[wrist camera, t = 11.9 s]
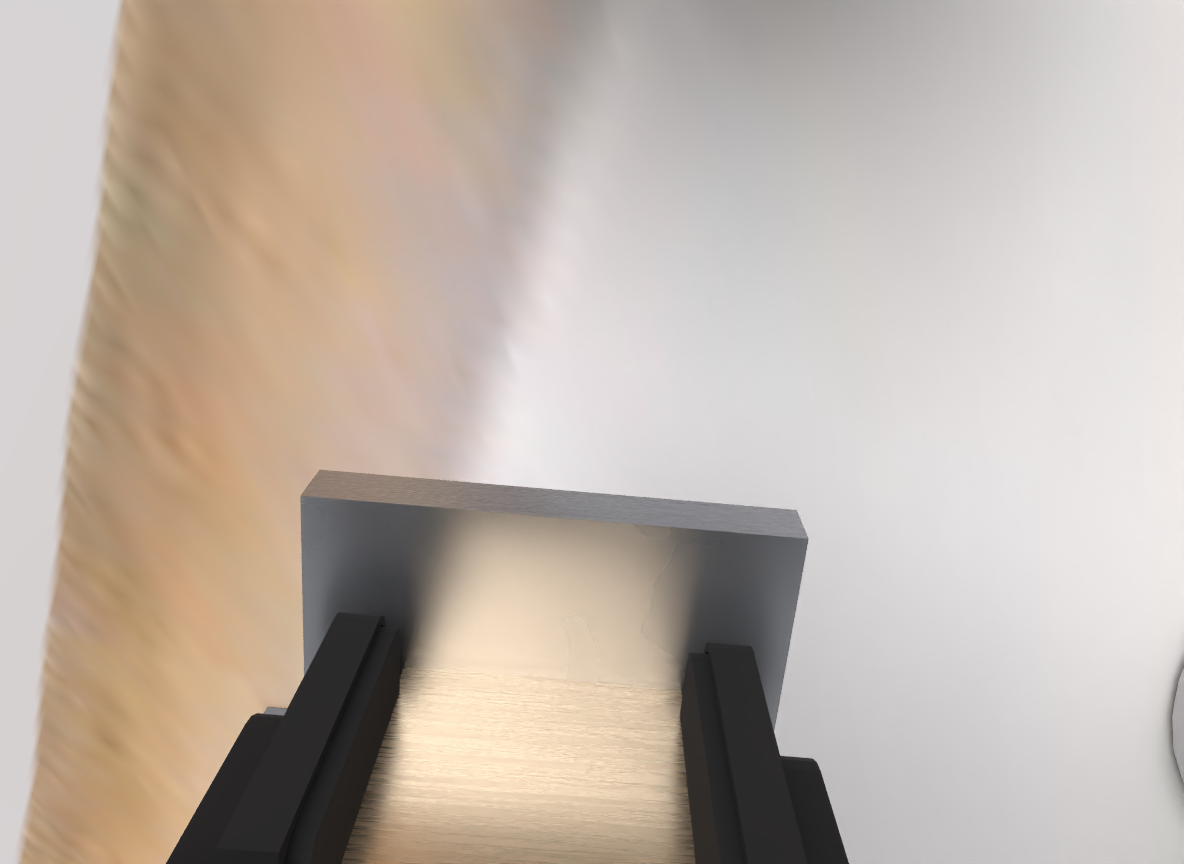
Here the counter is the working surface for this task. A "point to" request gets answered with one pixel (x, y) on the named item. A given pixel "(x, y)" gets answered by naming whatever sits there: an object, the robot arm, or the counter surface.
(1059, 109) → the counter surface
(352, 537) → the trowel
